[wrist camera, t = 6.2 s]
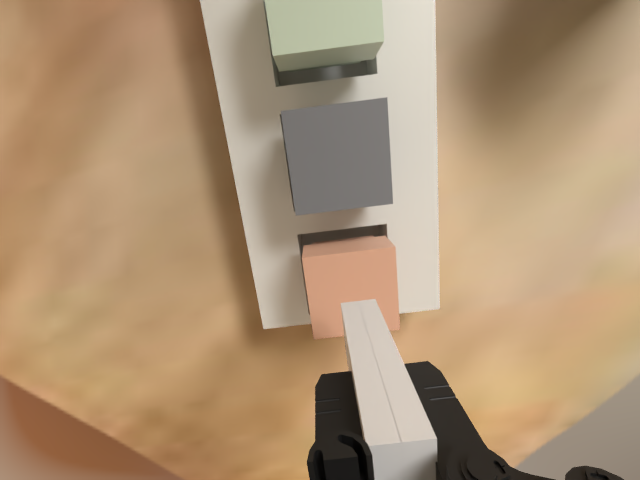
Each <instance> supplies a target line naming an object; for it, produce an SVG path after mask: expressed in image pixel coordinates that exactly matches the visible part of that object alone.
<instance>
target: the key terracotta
mask: <svg viewBox="0 0 640 480" xmlns="http://www.w3.org/2000/svg"><path fill="white" fill-rule="evenodd" d="M302 262H303V269H304V276H305V283H306V290H307V297H308V304H309V311H310V318H311V325H312V331H313V338H314V339H323V338H331V337H340V336H344V329H343V321H342V312H341V303H344V302H353V301H362V300H370V299H376V301H377V304H378V306H379V308H380V310H381V313H382V315H383V317H384V320H385V322H386V324H387V326H388V329H389V331H393V330H400V318H399V300H398V282H397V264H396V247H395V246H394V244H393V243H392V242H391V241H390V240H389V239H388V238H387V237H386V236H377V237H374V236H373V235H372V236H363V237H355V238H347V239H339V240H330V241H322V242H314V243H312V244H311V245H304V246H303V253H302Z"/></svg>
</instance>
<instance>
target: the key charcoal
mask: <svg viewBox="0 0 640 480" xmlns="http://www.w3.org/2000/svg"><path fill="white" fill-rule="evenodd" d="M281 117H282V124H283V130H284V137H285V144H286V151H287V158H288V165H289V172H290V179H291V186H292V193H293V200H294V207H295V214H296V216H298V215H306V214H314V213H322V212H330V211H339V210H347V209H355V208H363V207H371V206H380V205H388V204H393V192H392V173H391V155H390V137H389V119H388V101H387V97H386V98H378V99H370V100H362V101H354V102H347V103H339V104H331V105H323V106H315V107H308V108H300V109H292V110H284V111H281Z"/></svg>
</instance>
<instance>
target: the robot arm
mask: <svg viewBox="0 0 640 480" xmlns="http://www.w3.org/2000/svg"><path fill="white" fill-rule="evenodd" d="M341 312H342V321H343V329H344V338H345V347H346V356H347V363H348V369H349V371H347V372H338V373H329V374H322V375H321V377H320V379H319V381H318V383H317V384H316V386H315V401H316V403H315V413H316V415H315V443H314V444H313V446H312V447H311V449H310V450H309V455H308V460H307V466H308V472H309V477H310V480H554V479H549V478H545V477H539V476H535V475H530V474H528V473H524V472H521V471H518V470H516V469H514V468H512V467H510V466H509V465H508V464H507V463H506V461H505V460H504V459H503V458H501V457H500V456H498V455H497V454H496V453H494V452H493V451H491V450H489V449H488V448H487V446H486V445H485V444H484V442H483V441H482V439H481V437H480V436H479V434H478V432H477V431H476V429H475V427H474V426H473V424H472V422H471V421H470V419H469V417H468V416H467V414H466V412H465V411H464V409H463V407H462V406H461V404H460V402H459V401H458V399H457V398H456V397H455V394H454V392H453V391H452V389H451V387H449V384H448V382H447V381H446V379H445V377H444V376H443V374H442V372H441V371H440V370H438V369H437V368H436V367H435V366H433V365H432V364H431V363H430V362H428V361H426V362H417V363H408V364H404V363H403V360H402V358H401V356H400V354H399V351H398V349H397V347H396V344H395V342H394V340H393V338H392V335H391V333H390V331H389V329H388V326H387V324H386V322H385V320H384V317H383V315H382V313H381V310H380V308H379V306H378V304H377V301H376V299H370V300H362V301H353V302H344V303H341ZM565 480H624V479H622V478H621V477H618V476H617V475H614V474H612V473H609V472H607V471H605V470H602V469H599V468H594V467H589V466H581V467H574V468H572V469H571V470H570V471H569V472H568V473H567V474H566V476H565Z"/></svg>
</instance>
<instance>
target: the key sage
mask: <svg viewBox="0 0 640 480" xmlns="http://www.w3.org/2000/svg"><path fill="white" fill-rule="evenodd" d="M265 6H266V13H267V20H268V27H269V33H270V40H271V47H272V54H273V58H274V60H275V63H276V65H277V68H278V70H279V72H280V71H289V72H294V71H301V70H309V69H317V68H324V67H332V66H340V65H347V64H355V63H360V62H361V61H364V60H372V59H374V58H375V56H376V55H377V53H378V51H379V49H380V48H381V46H382V44H383V43H384V29H383V10H382V0H265Z"/></svg>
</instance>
